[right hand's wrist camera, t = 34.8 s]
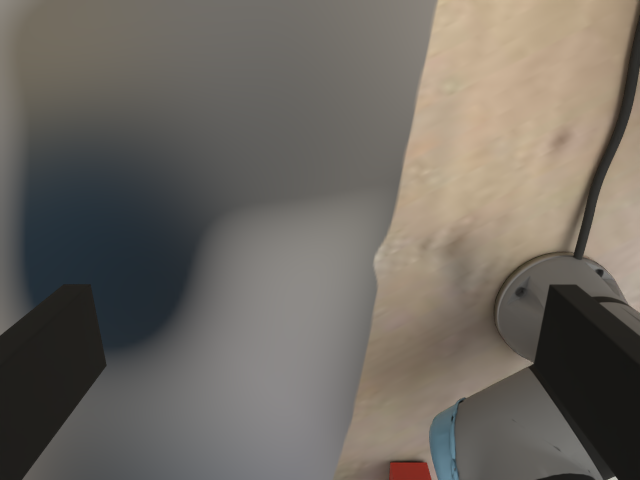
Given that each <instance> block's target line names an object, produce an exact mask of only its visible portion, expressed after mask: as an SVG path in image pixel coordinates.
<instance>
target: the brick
mask: <svg viewBox="0 0 640 480" xmlns="http://www.w3.org/2000/svg"><path fill="white" fill-rule="evenodd" d="M389 480H431V476H430V473H429V469H428V465H427V463H390V476H389Z"/></svg>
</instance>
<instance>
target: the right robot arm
mask: <svg viewBox="0 0 640 480" xmlns="http://www.w3.org/2000/svg"><path fill="white" fill-rule="evenodd" d="M639 68H640V17H639V21H638V25H637V30H636V34H635V38H634V43H633V47H632V52H631V57H630V63H629V69H628V75H627V81H626V87H625V93H624V98H623V103H622V107H621V111H620V114H619V118H618V121H617V124H616V127H615V130H614V133H613V135H612V138H611V140H610V143H609V145H608V147H607V149H606V152H605V154H604V156H603V158H602V160H601V163H600V165H599V167H598V170H597V172H596V175H595V177H594V180H593V183H592V186H591V189H590V192H589V196H588V200H587V204H586V208H585V213H584V217H583V221H582V225H581V229H580V233H579V237H578V241H577V244H576V248H575V252H574V253H570V252H557V253H550V254H546V255H542V256H539V257H537V258H534V259H532V260H530V261H528V262H527V263H525V264H523V265H522V266H520V267H519V268H518V269H517V270H515V271H514V272H513V273H512V274H511V275H510V276H509V277H508V279H507V280H506V281H505V282H504V284H503V285H502V287H501V289H500V291H499V293H498V295H497V298H496V302H495V307H494V319H495V324H496V327H497V329H498V331H499V333H500V335H501V336H502V338H503V339H504V341H505V342H506V343H507V344H508V346H509V347H510V348H512V349H513V350H514V351H515V352H516V353H517V354H519V355H520V356H522V357H524V358H526V359H528V360H530V361H532V362H533V363H534V364H533V365H531V366H529V367H526V368H525V369H523V370H521V371H519V372H517V373H515V374H513V375H511V376H509V377H507V378H505V379H503V380H501V381H499V382H497V383H495V384H493V385H491V386H489V387H488V388H486V389H484V390H482V391H480V392H478V393H476V394H474V395H472V396H470V397H468V398H462V399H460V400H458V401H457V402H456V404H455V405H453V406H451V407H450V408H448V409H446V410H444V411H443V412H441V413H439V414H438V415H437V416H436V417H435V418H434V419H433V422H432V425H431V427H430V431H429V442H430V450H431V455H432V460H433V464H434V467H435V471H436V474H437V477H438V480H608V479H610V478H612V477H615V476H616V478H617V479H618V480H640V313H639V312H638V311H636V310H635V309H633V308H632V307H631V306H629V305H628V303H627V301H626V299H625V297H624V296H623V294H622V292H621V290H620V288H619V286H618V285H617V283H616V281H615V280H614V278H613V277H612V276H611V275H610V274H609V272H608V271H607V270H606V269H605V268H603V267H602V266H601V265H599V264H598V263H596V262H595V261H593V260H592V259H590V258H588V257H586V256H583V254H584V250H585V247H586V243H587V239H588V236H589V232H590V228H591V224H592V220H593V216H594V212H595V207H596V203H597V199H598V196H599V192H600V189H601V186H602V183H603V180H604V178H605V175H606V173H607V170H608V168H609V166H610V164H611V161H612V159H613V157H614V155H615V153H616V151H617V148H618V146H619V144H620V141H621V139H622V137H623V134H624V131H625V129H626V126H627V123H628V120H629V116H630V113H631V109H632V105H633V101H634V96H635V92H636V86H637V80H638V74H639ZM105 367H106V361H105V355H104V350H103V345H102V340H101V335H100V330H99V325H98V320H97V315H96V310H95V305H94V300H93V295H92V290H91V285H90V284H64V285H62V286H61V287H60V288H59V289H57V290H56V291H55V292H54V293H53V294H51V295H50V296H49V297H48V298H46V299H45V300H44V301H43V302H41V303H40V304H39V305H38V306H36V307H35V308H34V309H33V310H31V311H30V312H29V313H28V314H26V315H25V316H24V317H23V318H22V319H20V320H19V321H18V322H17V323H15V324H14V325H13V326H12V327H10V328H9V329H8V330H7V331H5V332H4V333H3V334H2V335H1V336H0V480H22V479H23V478H24V476H25V475H26V473H27V472H28V471H29V469H30V468H31V467H32V465H33V464H34V463H35V461H36V460H37V459H38V457H39V456H40V455H41V453H42V452H43V451H44V449H45V448H46V446H47V445H48V444H49V442H50V441H51V440H52V438H53V437H54V436H55V434H56V433H57V432H58V430H59V429H60V428H61V426H62V425H63V423H64V422H65V421H66V420H67V418H68V417H69V415H70V414H71V413H72V411H73V410H74V409H75V407H76V406H77V405H78V403H79V402H80V401H81V399H82V398H83V396H84V395H85V394H86V393H87V391H88V390H89V388H90V387H91V386H92V384H93V383H94V382H95V380H96V379H97V378H98V376H99V375H100V374H101V372H102V371H103V370H104V368H105Z"/></svg>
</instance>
